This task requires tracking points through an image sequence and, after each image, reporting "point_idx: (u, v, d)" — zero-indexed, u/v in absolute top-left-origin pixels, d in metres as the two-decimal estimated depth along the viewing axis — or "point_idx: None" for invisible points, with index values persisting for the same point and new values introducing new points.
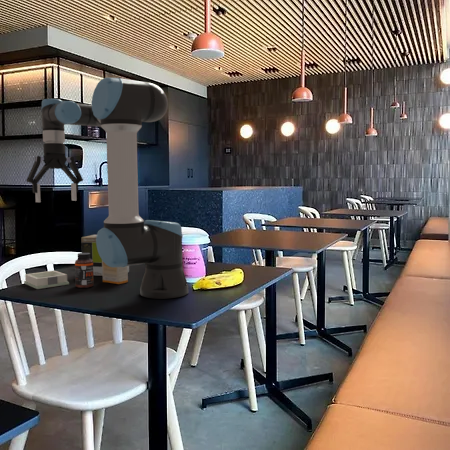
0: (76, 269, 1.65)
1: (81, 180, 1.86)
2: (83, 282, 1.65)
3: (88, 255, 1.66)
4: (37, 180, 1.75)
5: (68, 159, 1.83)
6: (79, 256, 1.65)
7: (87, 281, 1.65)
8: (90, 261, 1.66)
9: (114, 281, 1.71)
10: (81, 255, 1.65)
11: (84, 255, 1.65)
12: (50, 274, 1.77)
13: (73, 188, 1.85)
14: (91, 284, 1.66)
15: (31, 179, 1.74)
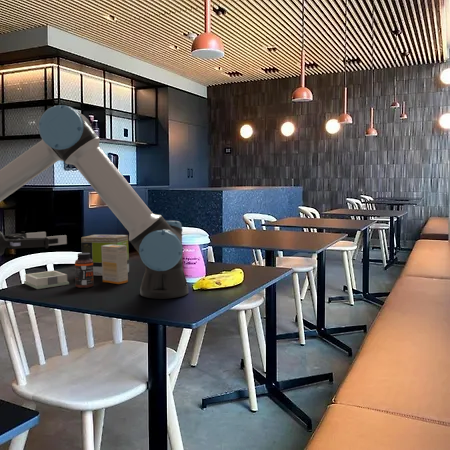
0: (76, 269, 1.65)
1: (19, 233, 1.60)
2: (83, 282, 1.65)
3: (88, 255, 1.66)
4: (42, 238, 1.48)
5: None
6: (79, 256, 1.65)
7: (87, 281, 1.65)
8: (90, 261, 1.66)
9: (114, 281, 1.71)
10: (81, 255, 1.65)
11: (84, 255, 1.65)
12: (50, 274, 1.77)
13: (32, 235, 1.60)
14: (91, 284, 1.66)
15: (44, 238, 1.47)
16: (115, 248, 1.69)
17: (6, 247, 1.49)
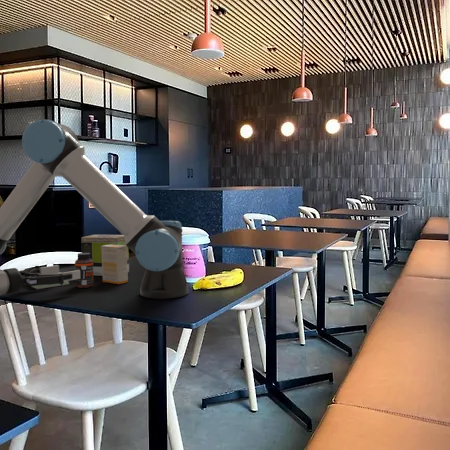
0: (76, 269, 1.65)
1: None
2: (83, 282, 1.65)
3: (88, 255, 1.66)
4: (57, 274, 1.53)
5: None
6: (79, 256, 1.65)
7: (87, 281, 1.65)
8: (90, 261, 1.66)
9: (114, 281, 1.71)
10: (81, 255, 1.65)
11: (84, 255, 1.65)
12: None
13: (46, 269, 1.65)
14: (91, 284, 1.66)
15: (59, 275, 1.51)
16: (115, 248, 1.69)
17: None
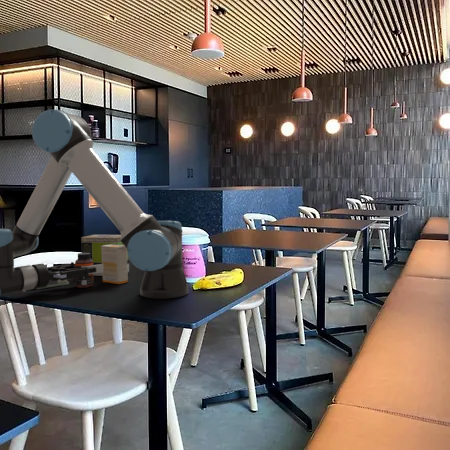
0: None
1: (68, 264, 1.69)
2: (83, 282, 1.65)
3: (88, 255, 1.66)
4: None
5: None
6: (79, 256, 1.65)
7: (87, 281, 1.65)
8: (90, 261, 1.66)
9: (114, 281, 1.71)
10: (81, 255, 1.65)
11: (84, 255, 1.65)
12: None
13: None
14: (91, 284, 1.66)
15: (85, 268, 1.61)
16: (115, 248, 1.69)
17: None
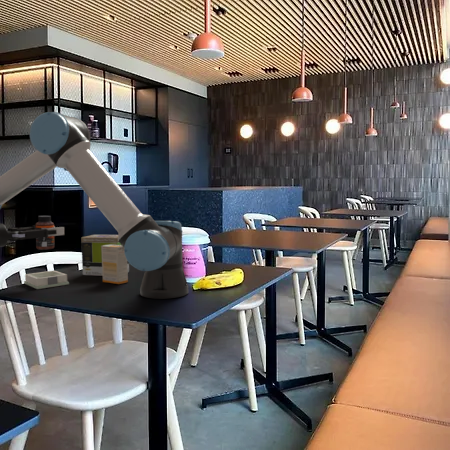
0: None
1: (30, 227, 1.72)
2: (43, 243, 1.68)
3: (49, 217, 1.69)
4: (42, 229, 1.65)
5: None
6: (40, 218, 1.68)
7: (47, 243, 1.68)
8: (50, 223, 1.69)
9: (114, 281, 1.71)
10: (41, 217, 1.68)
11: (44, 217, 1.68)
12: (50, 274, 1.77)
13: None
14: (51, 246, 1.69)
15: (44, 229, 1.64)
16: (115, 248, 1.69)
17: (8, 239, 1.62)
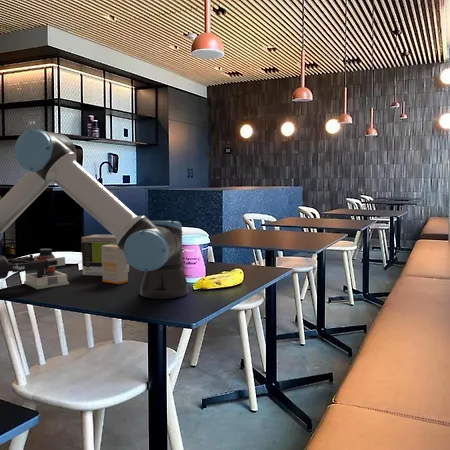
0: None
1: (27, 256, 1.74)
2: None
3: (50, 251, 1.70)
4: (43, 260, 1.65)
5: None
6: (41, 251, 1.69)
7: (48, 276, 1.69)
8: (52, 257, 1.70)
9: (114, 281, 1.71)
10: (43, 251, 1.69)
11: (46, 251, 1.69)
12: None
13: None
14: None
15: (45, 261, 1.64)
16: (115, 248, 1.69)
17: None
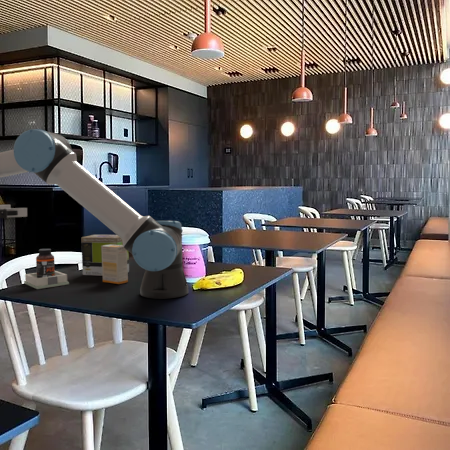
0: (37, 264, 1.69)
1: None
2: None
3: (49, 251, 1.70)
4: (1, 209, 1.53)
5: None
6: (40, 252, 1.69)
7: None
8: (51, 257, 1.70)
9: (114, 281, 1.71)
10: (42, 251, 1.69)
11: (45, 251, 1.69)
12: None
13: None
14: None
15: (3, 209, 1.51)
16: (115, 248, 1.69)
17: None
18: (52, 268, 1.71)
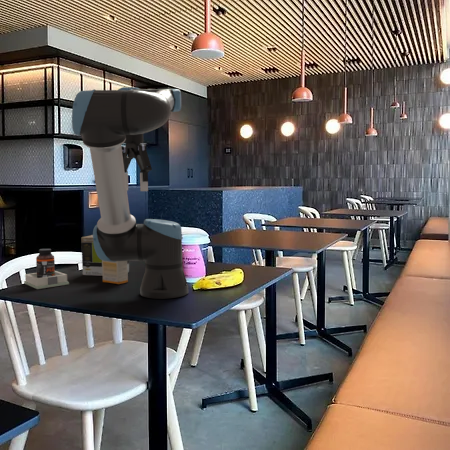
0: (37, 264, 1.69)
1: (144, 169, 1.73)
2: None
3: (49, 251, 1.70)
4: None
5: (139, 147, 1.76)
6: (40, 252, 1.69)
7: (48, 276, 1.69)
8: (51, 257, 1.70)
9: (114, 281, 1.71)
10: (42, 251, 1.69)
11: (45, 251, 1.69)
12: None
13: None
14: None
15: None
16: None
17: None
18: (52, 268, 1.71)
